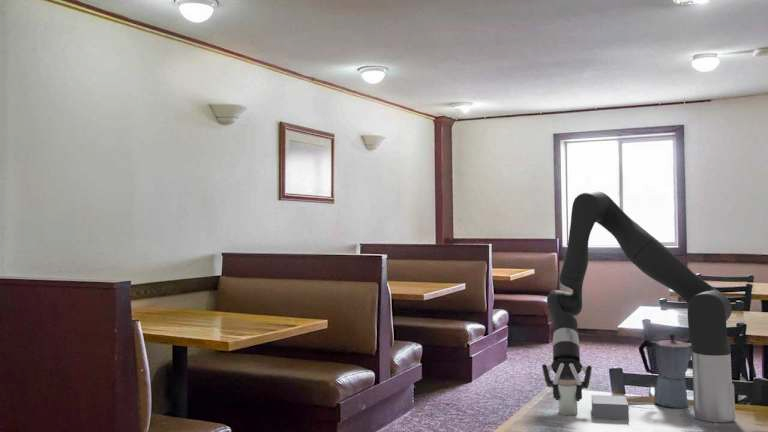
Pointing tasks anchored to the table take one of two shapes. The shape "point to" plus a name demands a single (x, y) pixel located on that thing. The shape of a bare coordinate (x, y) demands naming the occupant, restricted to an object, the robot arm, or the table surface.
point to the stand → (610, 407)
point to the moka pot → (669, 370)
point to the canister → (567, 396)
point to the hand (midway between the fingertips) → (567, 399)
